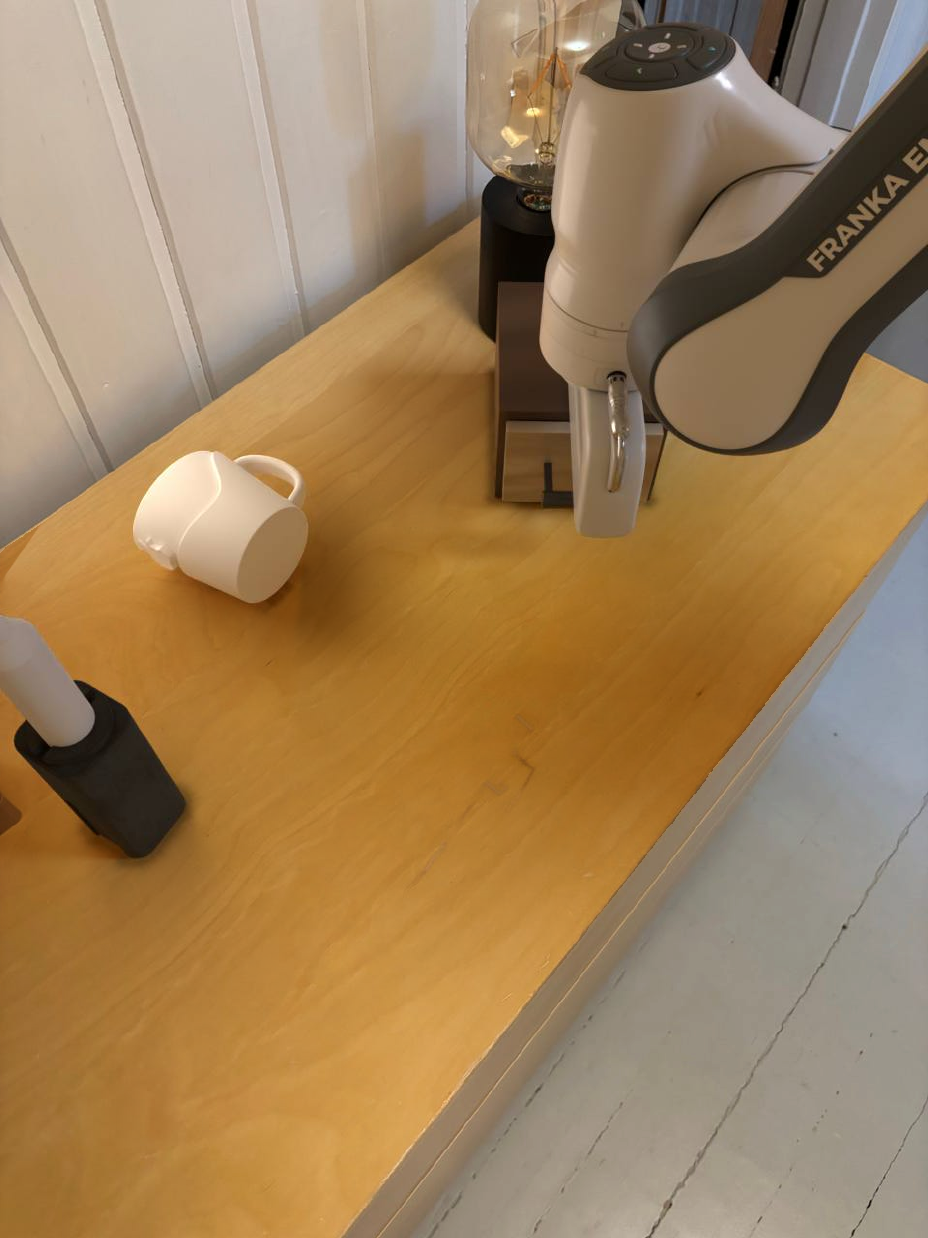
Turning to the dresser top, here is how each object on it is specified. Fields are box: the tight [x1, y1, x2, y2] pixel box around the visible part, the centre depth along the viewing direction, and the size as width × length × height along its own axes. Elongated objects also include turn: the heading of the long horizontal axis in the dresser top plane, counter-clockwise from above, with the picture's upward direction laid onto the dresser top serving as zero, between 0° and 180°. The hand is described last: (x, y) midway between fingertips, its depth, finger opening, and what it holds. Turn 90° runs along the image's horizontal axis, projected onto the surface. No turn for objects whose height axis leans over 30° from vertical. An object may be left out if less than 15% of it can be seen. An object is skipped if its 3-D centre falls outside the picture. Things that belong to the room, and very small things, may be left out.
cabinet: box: [493, 281, 669, 501], centre depth 77 cm, size 15×13×10 cm
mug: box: [132, 450, 309, 604], centre depth 71 cm, size 12×9×8 cm
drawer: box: [501, 420, 664, 511], centre depth 75 cm, size 18×12×8 cm, turn 179°
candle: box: [0, 613, 186, 859], centre depth 52 cm, size 5×5×25 cm
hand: (587, 474), depth 69 cm, fingers closed
